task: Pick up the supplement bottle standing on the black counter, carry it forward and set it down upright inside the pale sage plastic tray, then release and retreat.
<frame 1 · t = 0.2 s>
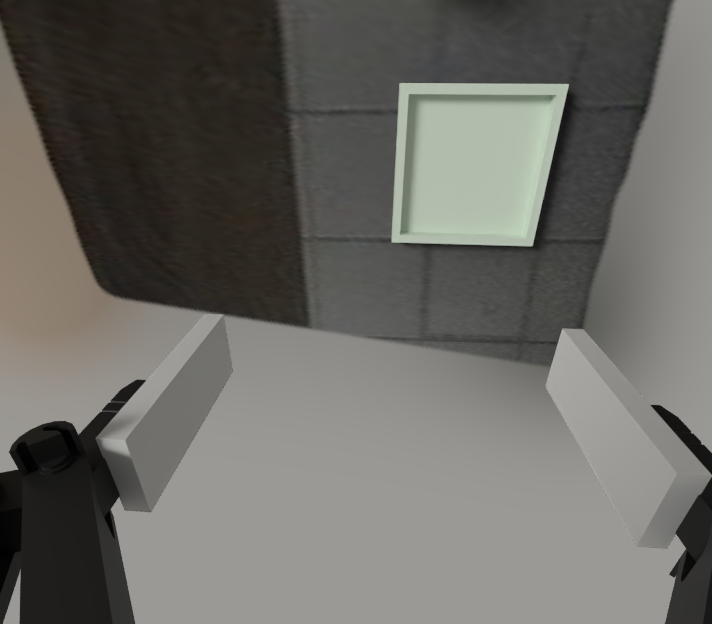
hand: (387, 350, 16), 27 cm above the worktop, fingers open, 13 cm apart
tray: (467, 168, 38), on the worktop
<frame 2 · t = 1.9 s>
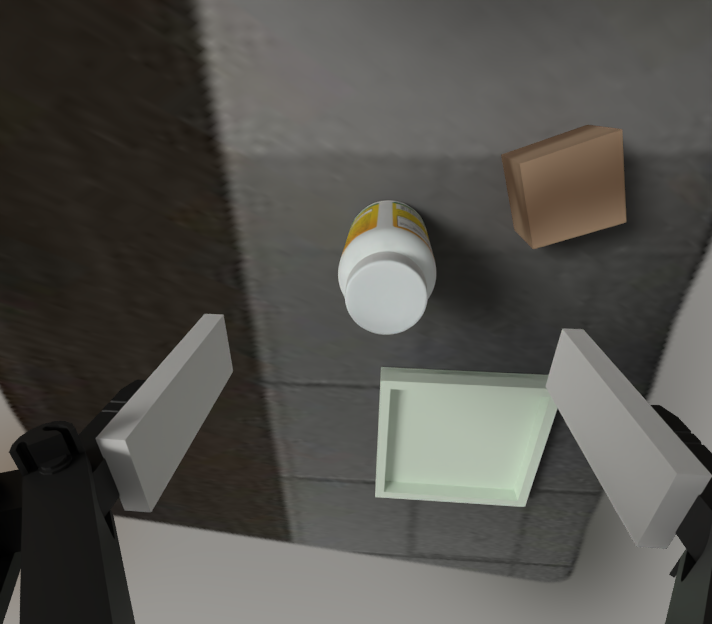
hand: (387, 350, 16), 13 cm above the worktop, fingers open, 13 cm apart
supplement bottle: (387, 236, 27), on the worktop
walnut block: (547, 180, 25), on the worktop
tray: (455, 433, 35), on the worktop
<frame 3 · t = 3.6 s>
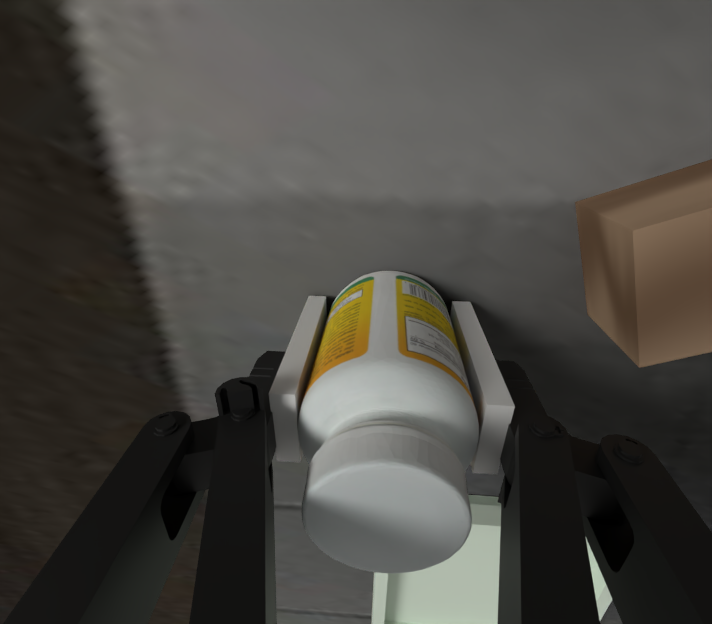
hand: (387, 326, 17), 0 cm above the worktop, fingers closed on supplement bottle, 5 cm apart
supplement bottle: (386, 320, 18), on the worktop, touching gripper
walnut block: (648, 241, 15), on the worktop
tray: (482, 568, 25), on the worktop
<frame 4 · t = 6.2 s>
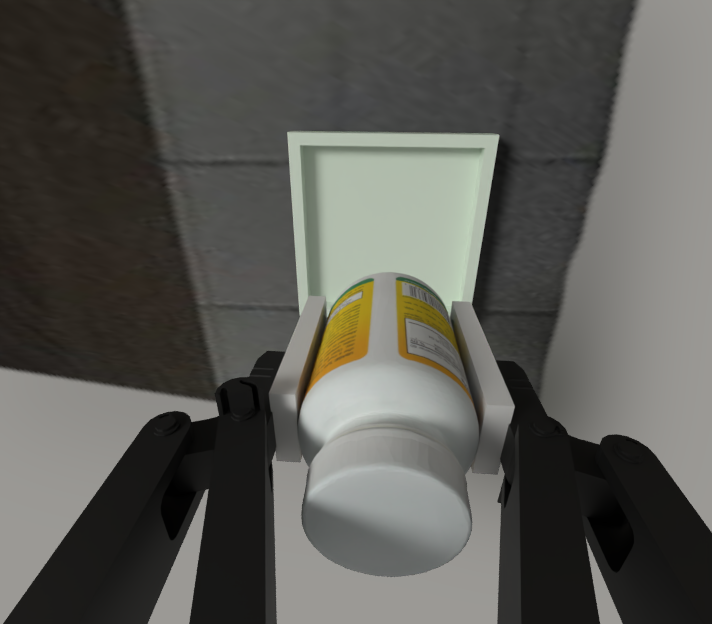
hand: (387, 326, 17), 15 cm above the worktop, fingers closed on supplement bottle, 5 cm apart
supplement bottle: (386, 322, 18), point 15 cm above the worktop, touching gripper
tray: (386, 229, 31), on the worktop
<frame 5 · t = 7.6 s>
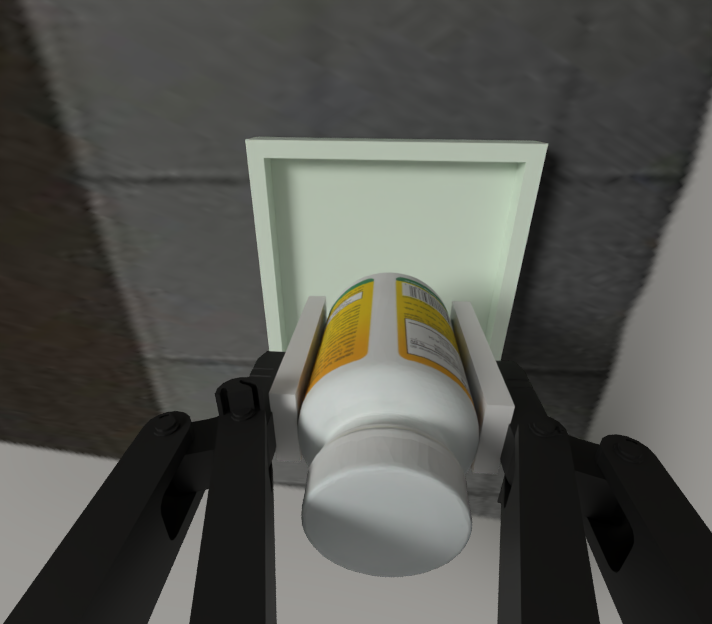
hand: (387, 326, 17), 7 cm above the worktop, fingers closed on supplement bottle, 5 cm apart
supplement bottle: (386, 322, 18), point 6 cm above the worktop, touching gripper
tray: (386, 268, 23), on the worktop
when the fingers open (2 cm above the worktop, at t = 8.7 s): supplement bottle drops 1 cm, resting on tray.
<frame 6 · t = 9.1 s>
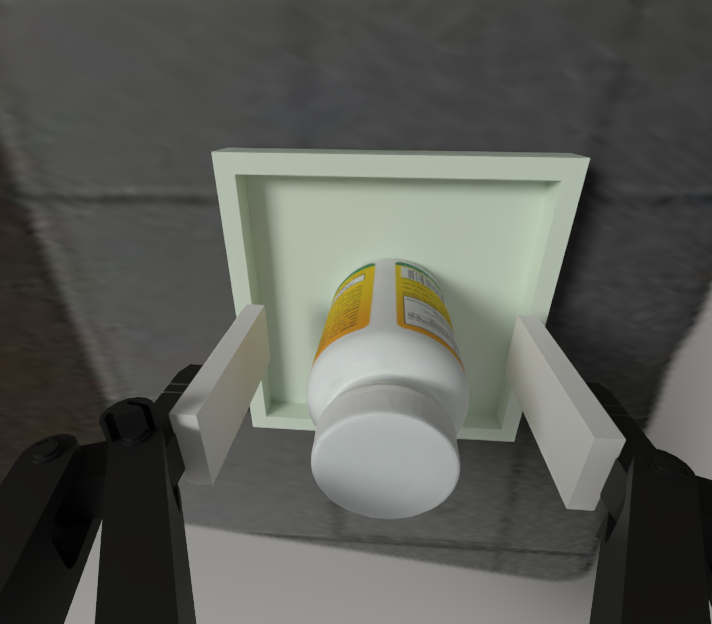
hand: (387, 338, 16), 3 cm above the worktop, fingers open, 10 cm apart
supplement bottle: (387, 306, 19), resting on tray
tray: (387, 302, 19), on the worktop
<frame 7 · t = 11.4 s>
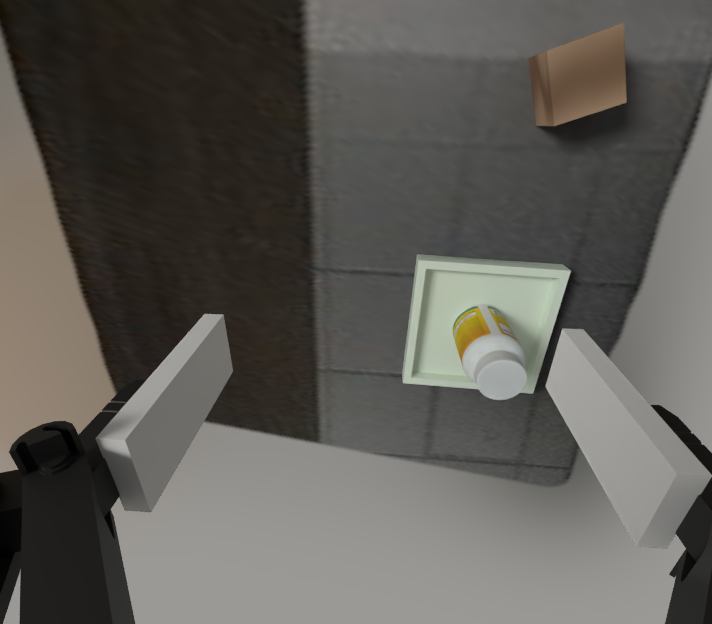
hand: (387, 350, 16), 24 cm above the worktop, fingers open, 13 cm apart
supplement bottle: (477, 325, 41), resting on tray
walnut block: (564, 82, 31), on the worktop
tray: (476, 323, 41), on the worktop
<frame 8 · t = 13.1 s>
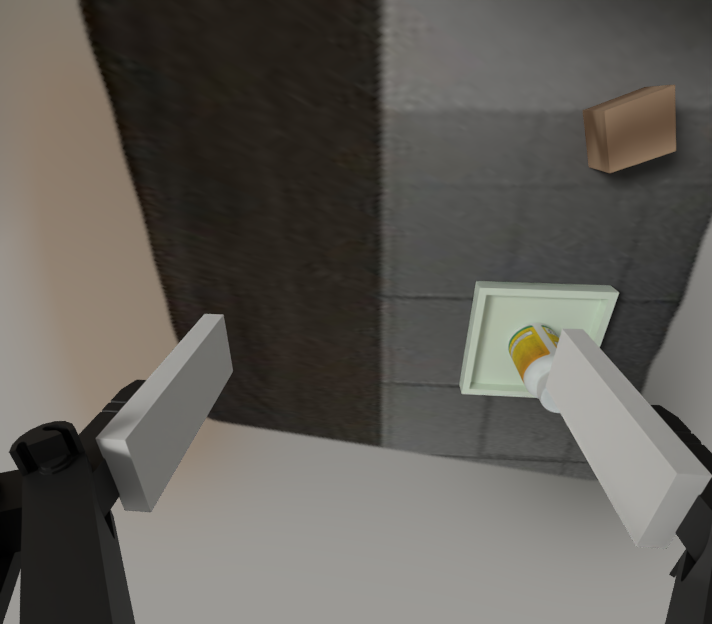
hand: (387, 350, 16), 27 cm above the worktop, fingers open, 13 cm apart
supplement bottle: (529, 340, 45), resting on tray
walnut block: (615, 128, 35), on the worktop
tray: (528, 338, 45), on the worktop
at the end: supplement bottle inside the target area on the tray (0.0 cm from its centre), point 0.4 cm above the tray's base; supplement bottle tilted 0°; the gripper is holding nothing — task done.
